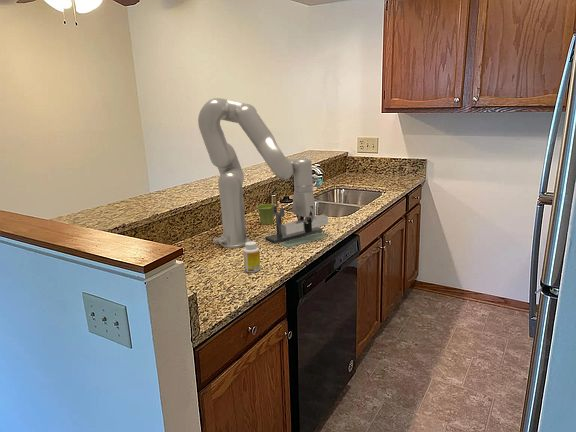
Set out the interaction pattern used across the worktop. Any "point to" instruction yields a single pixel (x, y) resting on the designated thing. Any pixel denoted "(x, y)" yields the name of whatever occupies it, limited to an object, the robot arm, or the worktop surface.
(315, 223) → the pale grey bar
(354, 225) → the worktop surface
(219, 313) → the worktop surface
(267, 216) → the plant pot
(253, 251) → the supplement bottle
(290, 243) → the rubber mat
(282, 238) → the hook rack
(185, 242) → the worktop surface
